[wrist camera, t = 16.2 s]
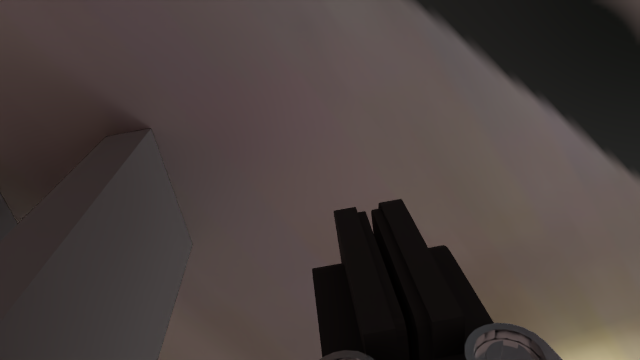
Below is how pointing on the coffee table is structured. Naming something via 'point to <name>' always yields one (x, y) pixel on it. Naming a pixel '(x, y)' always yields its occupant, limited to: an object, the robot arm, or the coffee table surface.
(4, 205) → the domino
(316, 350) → the coffee table surface
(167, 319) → the domino
